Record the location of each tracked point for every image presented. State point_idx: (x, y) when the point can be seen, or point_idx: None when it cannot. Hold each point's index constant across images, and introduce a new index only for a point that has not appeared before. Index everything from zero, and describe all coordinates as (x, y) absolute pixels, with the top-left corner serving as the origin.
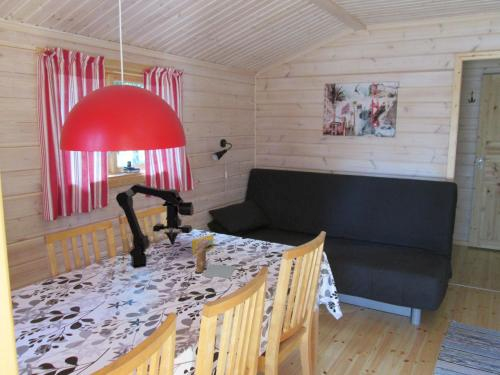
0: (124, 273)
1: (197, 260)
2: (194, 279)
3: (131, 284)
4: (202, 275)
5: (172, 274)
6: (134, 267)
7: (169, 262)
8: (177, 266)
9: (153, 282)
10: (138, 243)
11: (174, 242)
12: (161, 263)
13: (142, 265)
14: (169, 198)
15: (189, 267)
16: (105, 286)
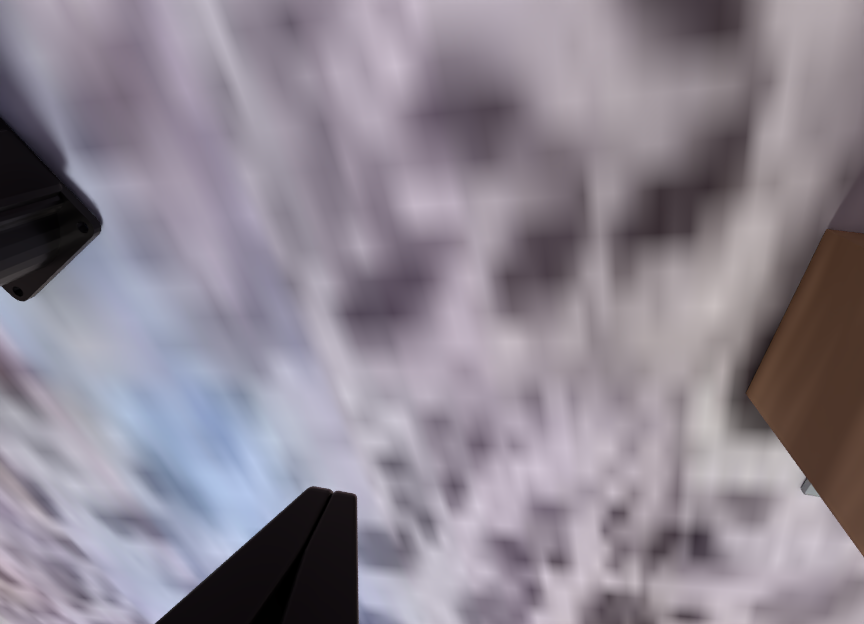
0: (45, 418)
1: (850, 515)
2: (702, 558)
3: None
4: (805, 491)
5: (471, 450)
6: (24, 300)
7: (321, 30)
8: (481, 210)
9: (359, 579)
10: None
11: (357, 556)
12: (226, 95)
13: (62, 247)
14: None
15: (657, 241)
16: (96, 601)
